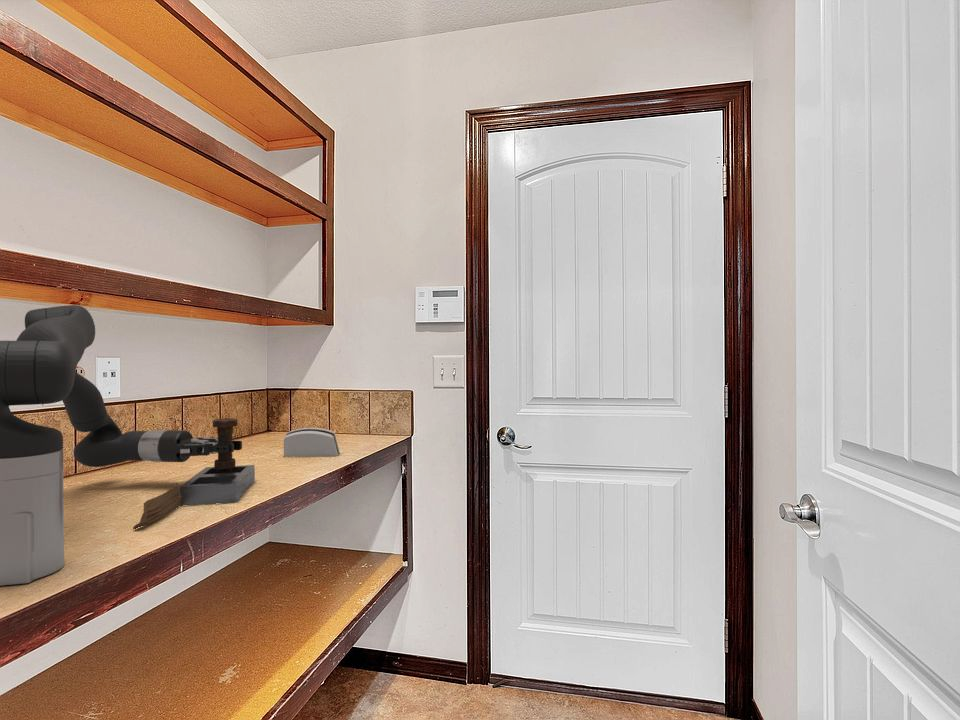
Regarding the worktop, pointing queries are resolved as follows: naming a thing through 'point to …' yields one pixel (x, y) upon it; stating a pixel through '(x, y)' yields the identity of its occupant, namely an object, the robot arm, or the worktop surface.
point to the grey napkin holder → (310, 443)
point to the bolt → (224, 436)
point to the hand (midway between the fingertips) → (237, 446)
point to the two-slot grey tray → (217, 486)
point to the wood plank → (160, 506)
